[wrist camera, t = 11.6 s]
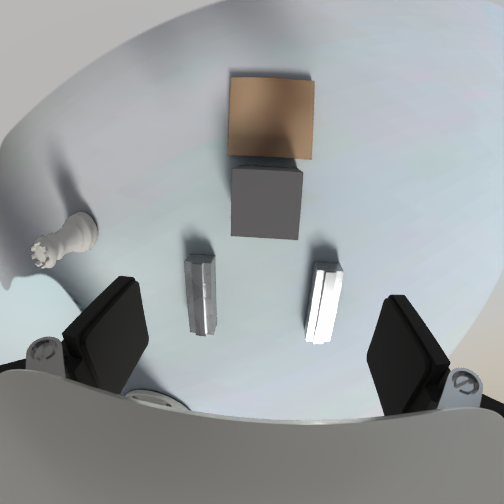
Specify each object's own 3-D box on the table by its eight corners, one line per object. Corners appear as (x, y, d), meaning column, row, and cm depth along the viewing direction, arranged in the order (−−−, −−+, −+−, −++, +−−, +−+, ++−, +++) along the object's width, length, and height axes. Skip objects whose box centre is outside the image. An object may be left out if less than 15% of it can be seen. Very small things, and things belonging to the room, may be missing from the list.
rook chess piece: (65, 229, 27) (20, 253, 20) (81, 202, 26) (32, 222, 19) (88, 256, 28) (46, 287, 21) (106, 230, 27) (60, 258, 20)
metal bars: (194, 321, 30) (189, 334, 28) (190, 253, 27) (183, 263, 25) (326, 330, 29) (329, 343, 27) (339, 262, 26) (344, 273, 24)
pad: (229, 155, 24) (227, 155, 23) (232, 80, 21) (231, 77, 20) (310, 159, 23) (311, 159, 22) (312, 83, 21) (314, 81, 20)
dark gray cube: (238, 219, 26) (230, 236, 21) (240, 165, 24) (232, 168, 19) (293, 222, 25) (297, 239, 21) (297, 168, 24) (303, 172, 19)
